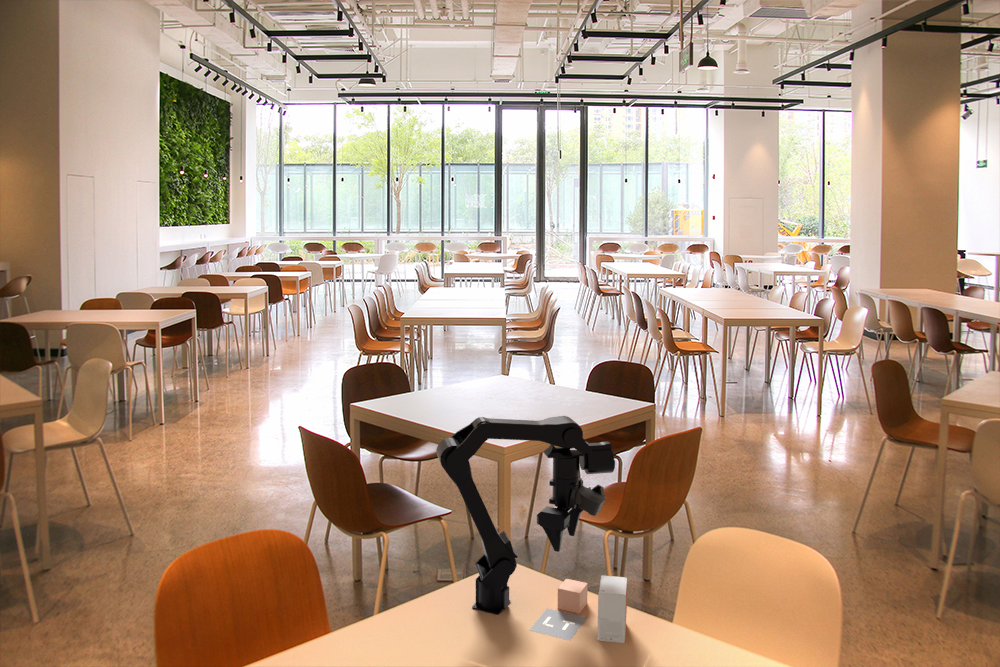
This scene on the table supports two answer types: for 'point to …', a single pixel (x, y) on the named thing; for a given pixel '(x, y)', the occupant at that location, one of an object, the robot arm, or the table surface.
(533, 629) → the tile
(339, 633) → the table surface
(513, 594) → the table surface
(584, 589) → the block
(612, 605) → the small box
